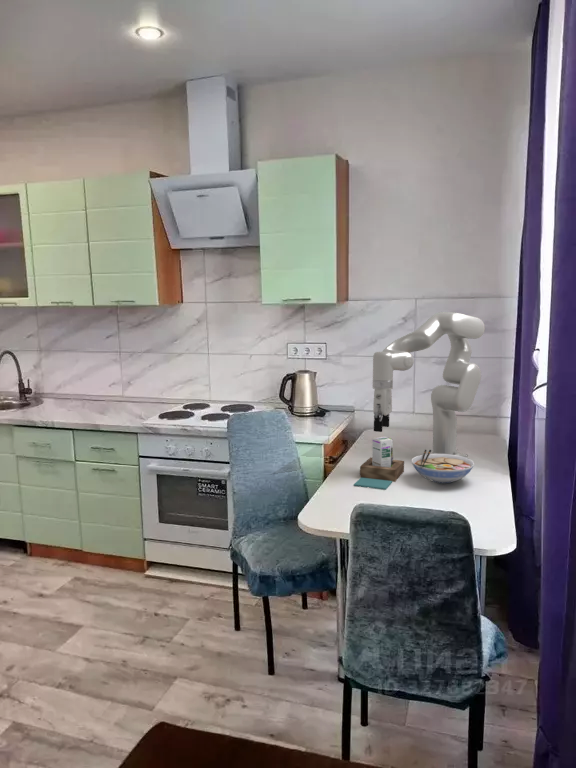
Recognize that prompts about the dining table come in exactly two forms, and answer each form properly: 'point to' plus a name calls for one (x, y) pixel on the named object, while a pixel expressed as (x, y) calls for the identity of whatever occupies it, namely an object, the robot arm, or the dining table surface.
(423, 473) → the ramen bowl
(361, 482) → the teal mat
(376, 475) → the walnut collar
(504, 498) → the dining table surface
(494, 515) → the dining table surface
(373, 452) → the syrup box
